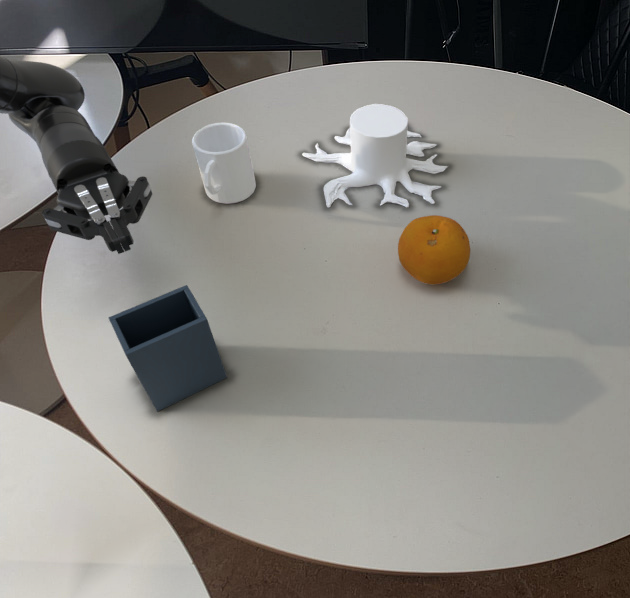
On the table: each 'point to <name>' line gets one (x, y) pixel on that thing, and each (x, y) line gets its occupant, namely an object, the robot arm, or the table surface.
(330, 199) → the white tree stump
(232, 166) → the mug
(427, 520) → the table surface
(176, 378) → the bin
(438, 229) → the fruit
